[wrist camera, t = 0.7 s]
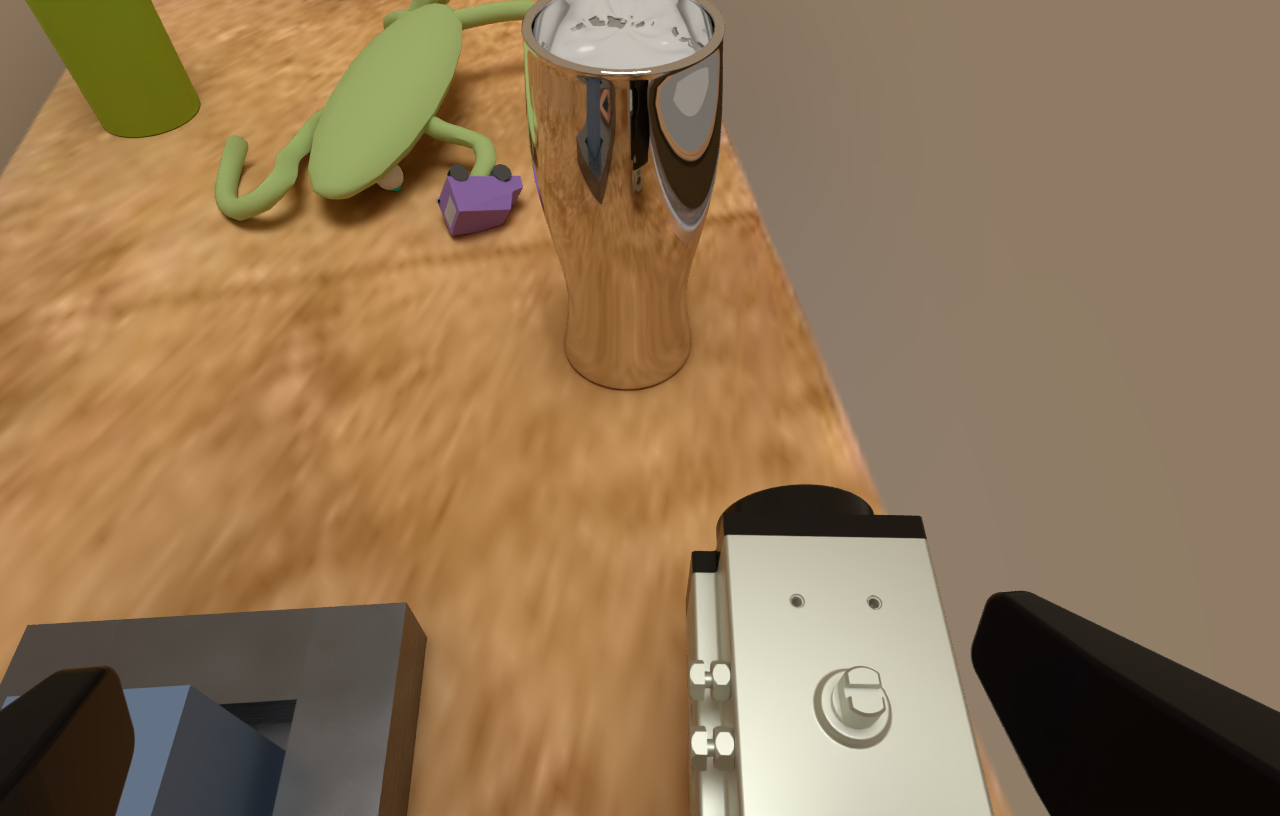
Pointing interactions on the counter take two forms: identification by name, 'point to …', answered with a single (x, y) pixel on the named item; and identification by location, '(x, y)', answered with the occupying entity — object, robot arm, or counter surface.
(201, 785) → the slate gray peg
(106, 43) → the soap dispenser
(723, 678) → the pneumatic valve
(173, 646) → the socket plate
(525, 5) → the figurine
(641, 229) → the beer glass
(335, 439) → the counter surface
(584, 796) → the counter surface
